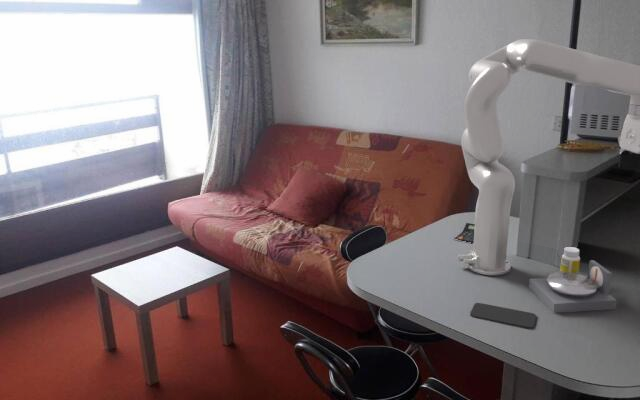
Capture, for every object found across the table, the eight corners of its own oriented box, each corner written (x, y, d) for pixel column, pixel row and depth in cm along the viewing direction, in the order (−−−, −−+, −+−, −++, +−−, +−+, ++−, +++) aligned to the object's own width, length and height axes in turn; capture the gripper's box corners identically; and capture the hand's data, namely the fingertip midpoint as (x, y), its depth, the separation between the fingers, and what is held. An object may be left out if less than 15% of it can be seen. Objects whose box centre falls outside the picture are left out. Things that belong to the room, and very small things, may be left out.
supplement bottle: (577, 274, 152) (581, 247, 150) (577, 281, 148) (581, 253, 146) (559, 271, 154) (562, 245, 152) (559, 278, 150) (562, 251, 148)
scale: (553, 312, 132) (557, 282, 130) (528, 287, 146) (531, 258, 143) (615, 308, 133) (619, 278, 131) (584, 283, 147) (588, 255, 144)
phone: (475, 301, 138) (536, 313, 131) (475, 304, 138) (536, 316, 132) (469, 315, 132) (533, 328, 125) (468, 318, 132) (532, 331, 125)
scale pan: (560, 297, 132) (561, 294, 132) (538, 276, 144) (538, 273, 144) (606, 294, 133) (607, 291, 133) (581, 274, 145) (581, 270, 144)
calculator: (454, 240, 180) (454, 232, 179) (466, 230, 189) (467, 222, 188) (481, 246, 175) (482, 237, 174) (492, 235, 184) (493, 227, 183)
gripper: (612, 107, 153) (603, 164, 159) (652, 116, 137) (641, 179, 142) (636, 106, 154) (627, 163, 159) (680, 115, 138) (668, 178, 143)
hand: (634, 171), depth 151 cm, fingers open, 9 cm apart
